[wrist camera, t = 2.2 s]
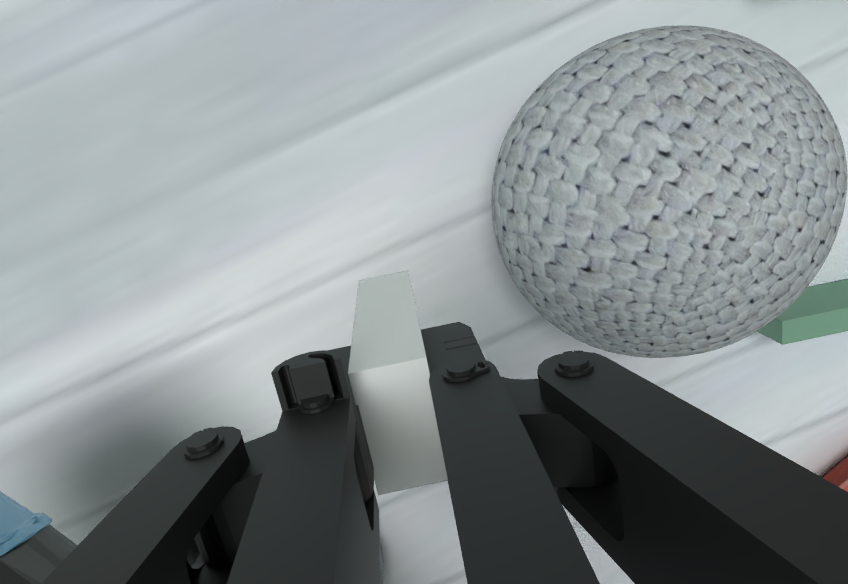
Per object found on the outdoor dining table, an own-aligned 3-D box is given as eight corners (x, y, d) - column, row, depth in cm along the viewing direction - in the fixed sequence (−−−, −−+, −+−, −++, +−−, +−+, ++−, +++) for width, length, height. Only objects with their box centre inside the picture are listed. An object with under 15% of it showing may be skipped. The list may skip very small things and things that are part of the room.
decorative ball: (540, 1, 31) (683, -107, 17) (758, 119, 34) (1041, 113, 19) (428, 248, 34) (466, 335, 20) (634, 336, 37) (798, 468, 23)
